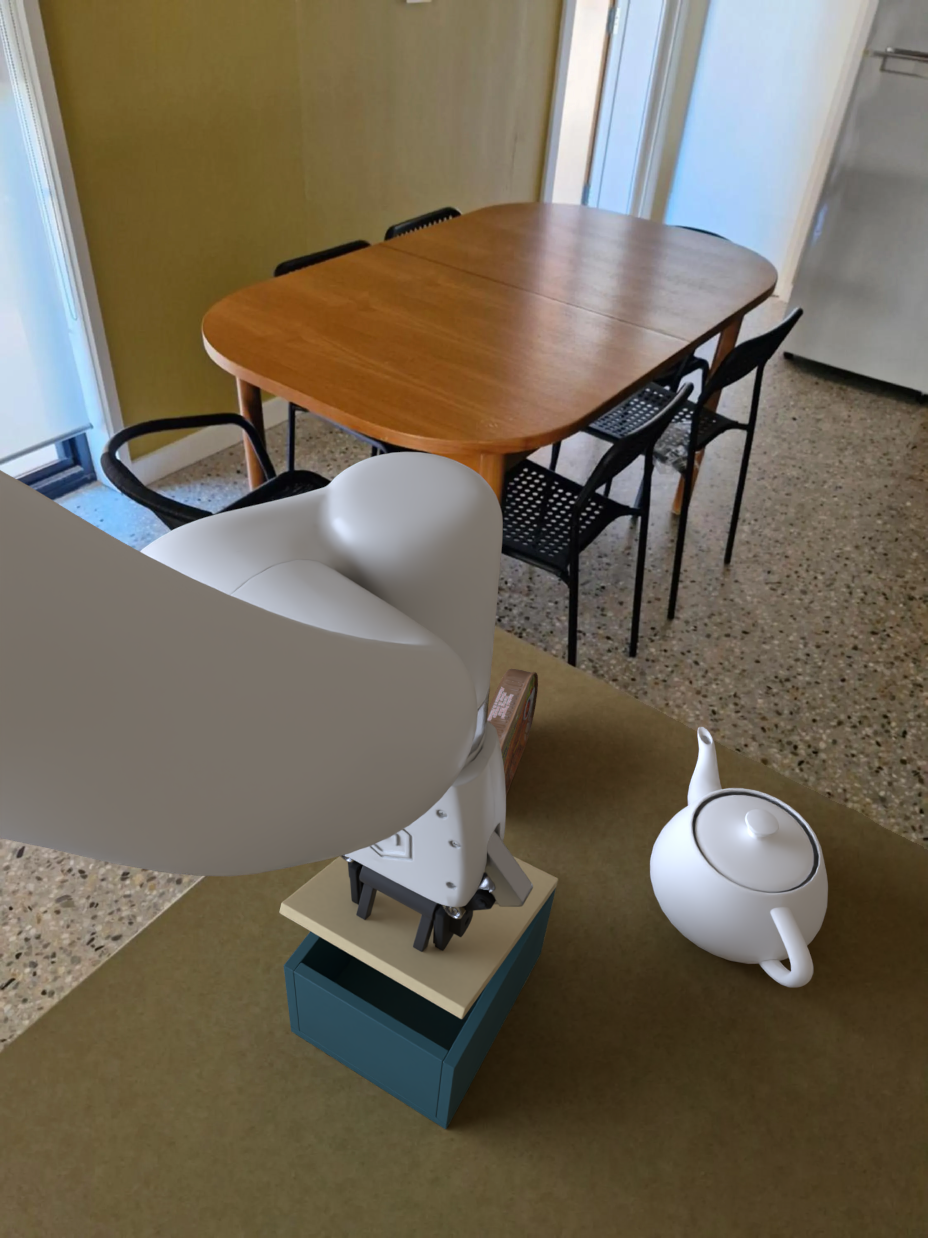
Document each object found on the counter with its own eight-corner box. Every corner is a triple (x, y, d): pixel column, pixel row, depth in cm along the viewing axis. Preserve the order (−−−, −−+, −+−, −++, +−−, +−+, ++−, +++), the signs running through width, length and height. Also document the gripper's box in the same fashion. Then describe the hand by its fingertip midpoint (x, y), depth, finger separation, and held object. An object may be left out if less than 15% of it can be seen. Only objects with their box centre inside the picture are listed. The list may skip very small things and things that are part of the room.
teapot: (863, 1015, 66) (920, 936, 59) (689, 1036, 64) (727, 956, 57) (748, 785, 83) (782, 703, 76) (607, 795, 81) (629, 712, 74)
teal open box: (446, 1130, 58) (454, 1069, 52) (290, 1031, 62) (283, 965, 57) (541, 953, 68) (556, 887, 63) (401, 879, 72) (404, 810, 67)
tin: (490, 836, 76) (499, 771, 71) (455, 825, 77) (462, 760, 72) (536, 719, 87) (547, 656, 82) (505, 711, 88) (514, 647, 83)
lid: (462, 1020, 49) (484, 948, 47) (278, 913, 53) (293, 844, 51) (555, 887, 62) (575, 828, 61) (403, 811, 67) (418, 753, 65)
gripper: (219, 685, 43) (260, 891, 55) (536, 837, 37) (505, 1031, 49) (312, 600, 48) (331, 806, 60) (604, 722, 42) (561, 923, 54)
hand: (410, 906), depth 54 cm, fingers closed on lid, 5 cm apart
